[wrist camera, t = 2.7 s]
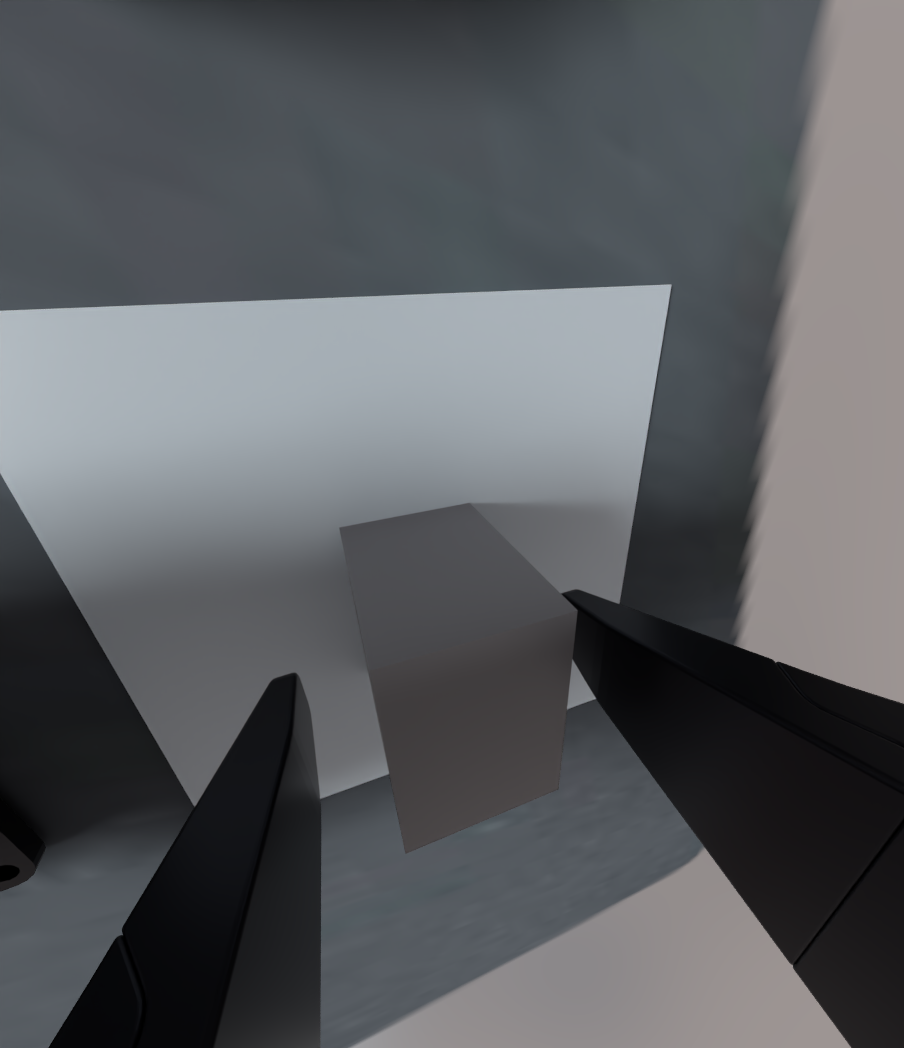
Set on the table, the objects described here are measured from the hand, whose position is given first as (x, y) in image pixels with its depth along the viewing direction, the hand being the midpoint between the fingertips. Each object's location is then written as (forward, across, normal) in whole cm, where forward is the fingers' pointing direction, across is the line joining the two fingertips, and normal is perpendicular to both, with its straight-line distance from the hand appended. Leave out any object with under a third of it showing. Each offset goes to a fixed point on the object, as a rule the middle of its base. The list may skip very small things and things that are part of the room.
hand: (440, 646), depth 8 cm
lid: (+3, 0, 0) cm, 3 cm away
